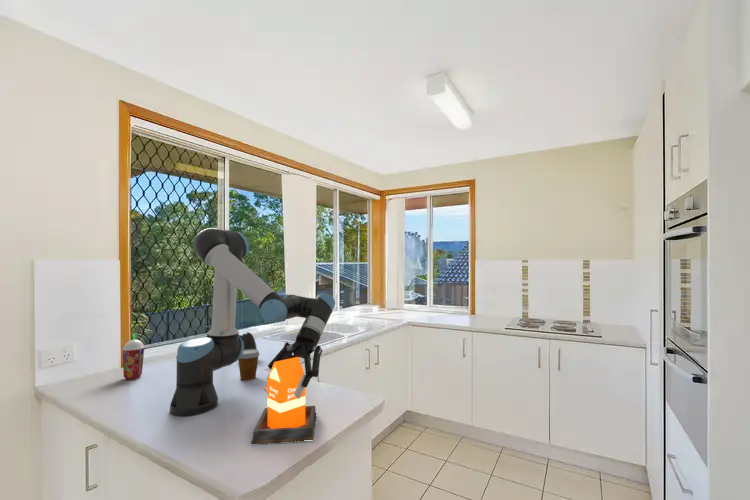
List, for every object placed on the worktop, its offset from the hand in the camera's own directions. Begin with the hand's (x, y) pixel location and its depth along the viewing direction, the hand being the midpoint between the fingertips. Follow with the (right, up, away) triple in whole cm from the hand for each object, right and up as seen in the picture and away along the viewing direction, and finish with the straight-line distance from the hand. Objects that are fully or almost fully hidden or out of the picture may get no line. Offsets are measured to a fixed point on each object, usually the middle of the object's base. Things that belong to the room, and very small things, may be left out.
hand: (280, 393), depth 105 cm
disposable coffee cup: (-29, -14, +51) cm, 60 cm away
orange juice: (+1, -11, +2) cm, 11 cm away
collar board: (+1, -12, +2) cm, 12 cm away
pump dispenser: (-40, -16, +80) cm, 91 cm away
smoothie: (-81, -15, +52) cm, 97 cm away
